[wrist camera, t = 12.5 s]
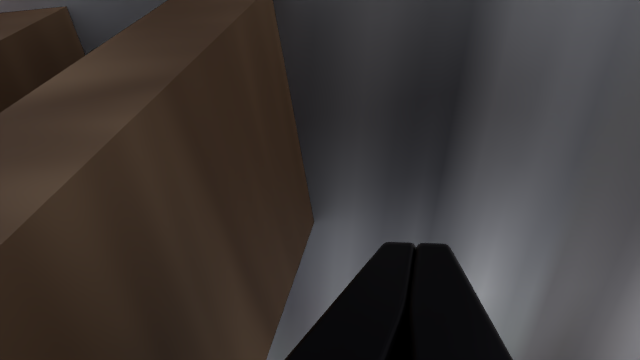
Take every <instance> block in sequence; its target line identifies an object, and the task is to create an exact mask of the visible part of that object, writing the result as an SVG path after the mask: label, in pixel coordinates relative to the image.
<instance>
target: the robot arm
mask: <svg viewBox="0 0 640 360" xmlns="http://www.w3.org/2000/svg"><path fill="white" fill-rule="evenodd" d="M285 360H513V359H512V357H511V356H510V354H509V352H508V350H507V348H506V347H505V345H504V343H503V341H502V339H501V338H500V336H499V334H498V332H497V330H496V329H495V327H494V325H493V323H492V321H491V320H490V318H489V316H488V314H487V313H486V311H485V309H484V307H483V305H482V304H481V302H480V300H479V298H478V296H477V295H476V293H475V291H474V289H473V287H472V286H471V284H470V282H469V280H468V278H467V277H466V275H465V273H464V271H463V269H462V268H461V266H460V264H459V262H458V260H457V259H456V257H455V255H454V253H453V251H452V250H451V248H450V247H449V246H448V245H447V244H436V243H420V244H418V246H417V247H415V245H414V244H413V243H405V242H386V243H384V244H383V245H382V246H381V247H380V248H379V249H378V251H377V252H376V253H375V254H374V255H373V256H372V258H371V259H370V260H369V261H368V262H367V264H366V265H365V266H364V267H363V268H362V269H361V271H360V272H359V273H358V274H357V275H356V276H355V278H354V279H353V280H352V281H351V282H350V283H349V285H348V286H347V287H346V288H345V289H344V291H343V292H342V293H341V294H340V295H339V296H338V298H337V299H336V300H335V301H334V302H333V303H332V305H331V306H330V307H329V308H328V309H327V310H326V312H325V313H324V314H323V315H322V316H321V318H320V319H319V320H318V321H317V322H316V323H315V325H314V326H313V327H312V328H311V329H310V330H309V332H308V333H307V334H306V335H305V336H304V337H303V339H302V340H301V341H300V342H299V343H298V345H297V346H296V347H295V348H294V349H293V350H292V352H291V353H290V354H289V355H288V356H287V357H286V359H285Z"/></svg>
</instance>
